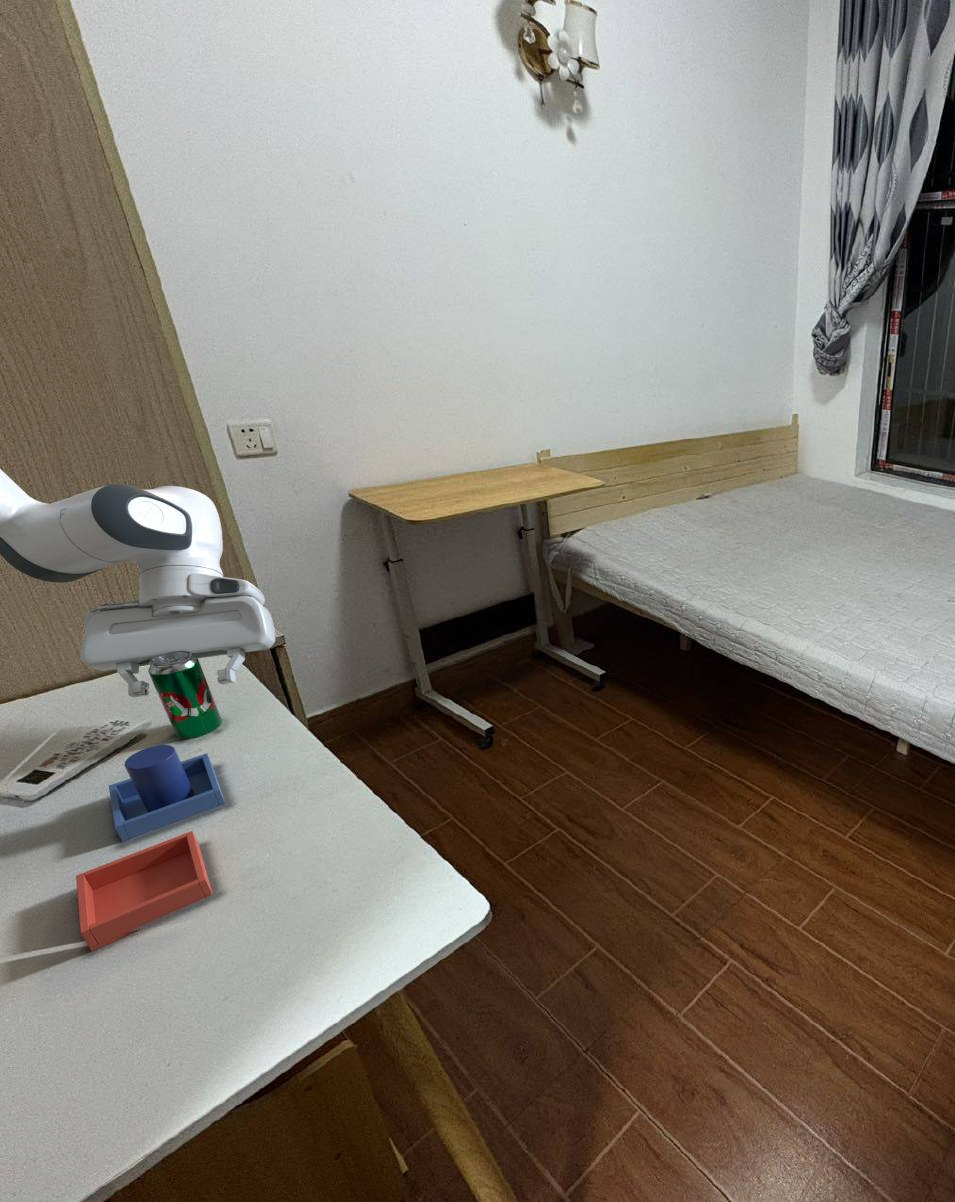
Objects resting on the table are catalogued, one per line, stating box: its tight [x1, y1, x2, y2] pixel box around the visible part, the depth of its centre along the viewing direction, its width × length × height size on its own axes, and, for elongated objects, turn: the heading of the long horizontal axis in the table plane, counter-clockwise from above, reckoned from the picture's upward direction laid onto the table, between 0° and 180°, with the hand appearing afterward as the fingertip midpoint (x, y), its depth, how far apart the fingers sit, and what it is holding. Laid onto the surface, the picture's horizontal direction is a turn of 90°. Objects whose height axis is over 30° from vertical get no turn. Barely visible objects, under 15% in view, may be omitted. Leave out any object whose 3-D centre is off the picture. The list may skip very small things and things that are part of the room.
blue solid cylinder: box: [124, 744, 194, 812], centre depth 79 cm, size 4×4×7 cm
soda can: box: [147, 651, 223, 739], centre depth 90 cm, size 5×5×12 cm
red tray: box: [75, 830, 213, 952], centre depth 68 cm, size 9×9×3 cm
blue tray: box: [108, 752, 226, 843], centre depth 80 cm, size 9×9×3 cm
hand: (183, 689), depth 90 cm, fingers open, 8 cm apart
